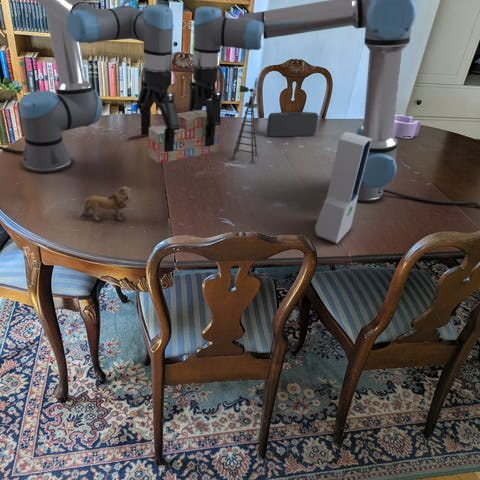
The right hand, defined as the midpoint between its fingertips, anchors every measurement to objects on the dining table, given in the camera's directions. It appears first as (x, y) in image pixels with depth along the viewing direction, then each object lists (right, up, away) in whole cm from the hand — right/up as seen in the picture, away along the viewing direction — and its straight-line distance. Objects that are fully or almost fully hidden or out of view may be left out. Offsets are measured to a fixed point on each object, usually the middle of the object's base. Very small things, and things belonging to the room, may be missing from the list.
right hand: (203, 141), depth 148 cm
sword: (-21, +12, +44) cm, 50 cm away
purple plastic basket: (+85, +19, +72) cm, 113 cm away
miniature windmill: (+13, +1, +32) cm, 35 cm away
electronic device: (+39, -29, -10) cm, 50 cm away
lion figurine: (-26, -25, -14) cm, 39 cm away
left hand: (-13, -2, -10) cm, 16 cm away
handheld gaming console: (+34, +15, +57) cm, 68 cm away
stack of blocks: (-6, -5, -2) cm, 8 cm away
